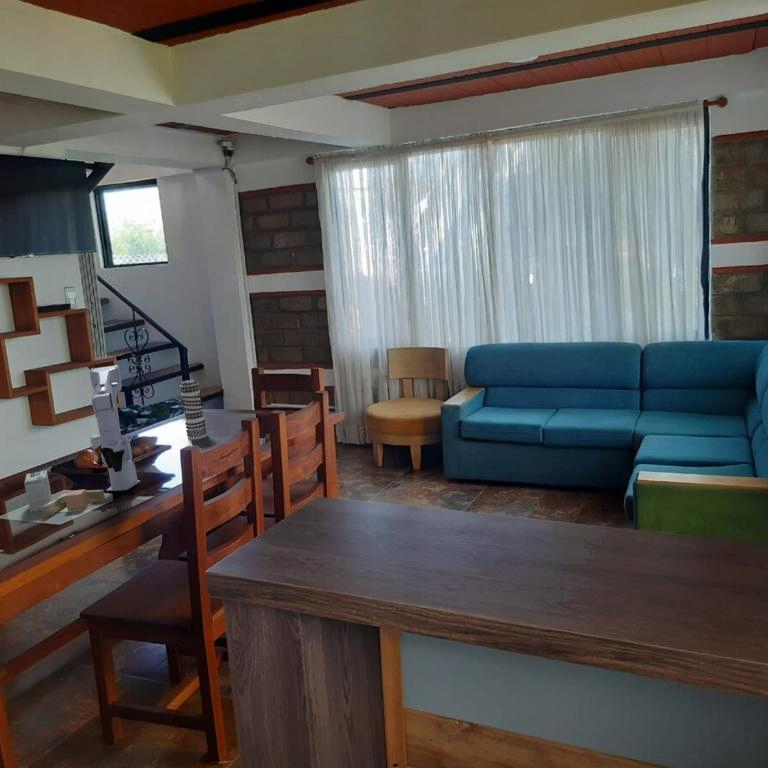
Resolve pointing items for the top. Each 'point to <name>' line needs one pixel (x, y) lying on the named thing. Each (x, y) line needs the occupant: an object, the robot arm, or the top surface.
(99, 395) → the robot arm
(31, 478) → the light bulb box
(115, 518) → the top surface
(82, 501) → the cube
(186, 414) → the decorative candle
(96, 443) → the skincare box
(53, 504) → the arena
